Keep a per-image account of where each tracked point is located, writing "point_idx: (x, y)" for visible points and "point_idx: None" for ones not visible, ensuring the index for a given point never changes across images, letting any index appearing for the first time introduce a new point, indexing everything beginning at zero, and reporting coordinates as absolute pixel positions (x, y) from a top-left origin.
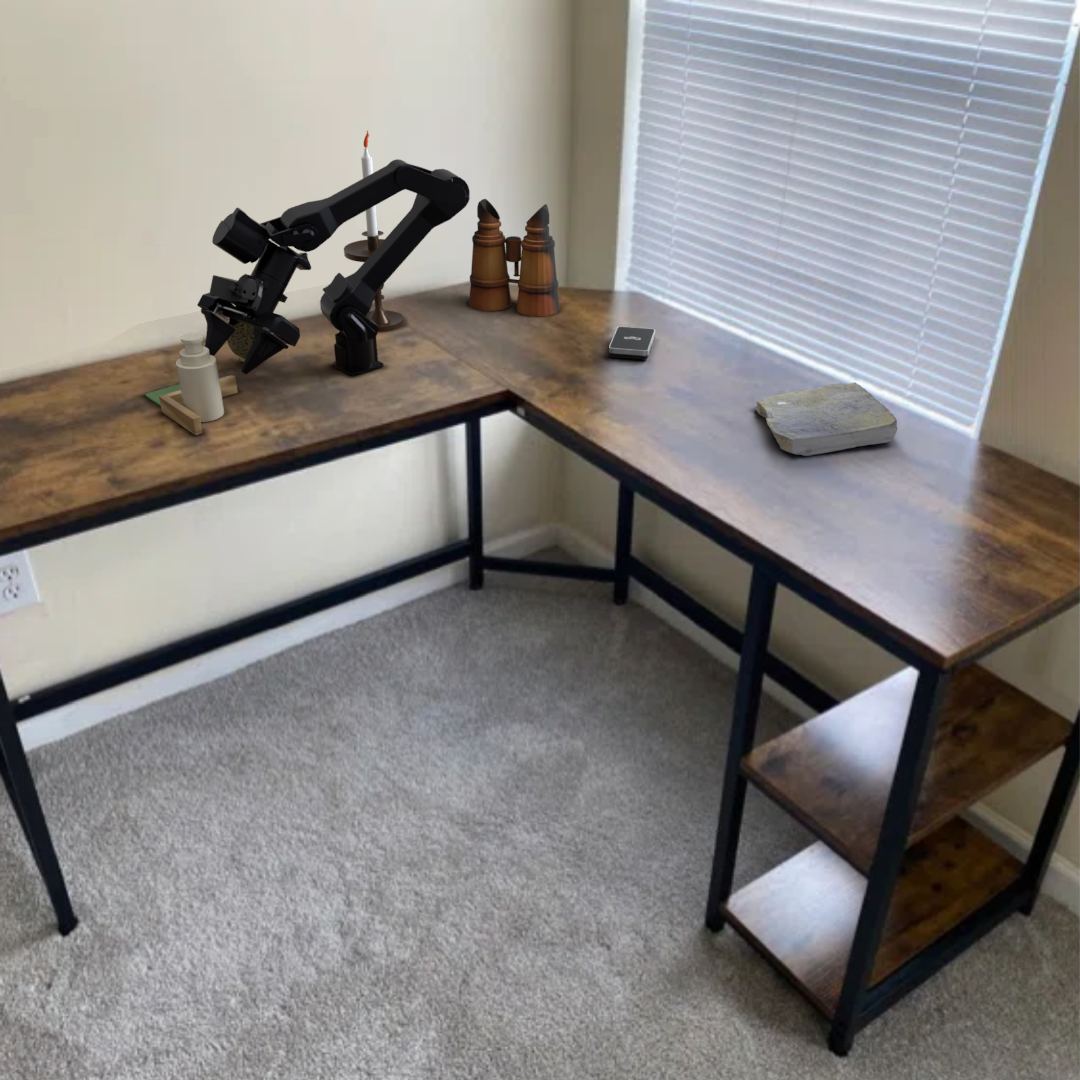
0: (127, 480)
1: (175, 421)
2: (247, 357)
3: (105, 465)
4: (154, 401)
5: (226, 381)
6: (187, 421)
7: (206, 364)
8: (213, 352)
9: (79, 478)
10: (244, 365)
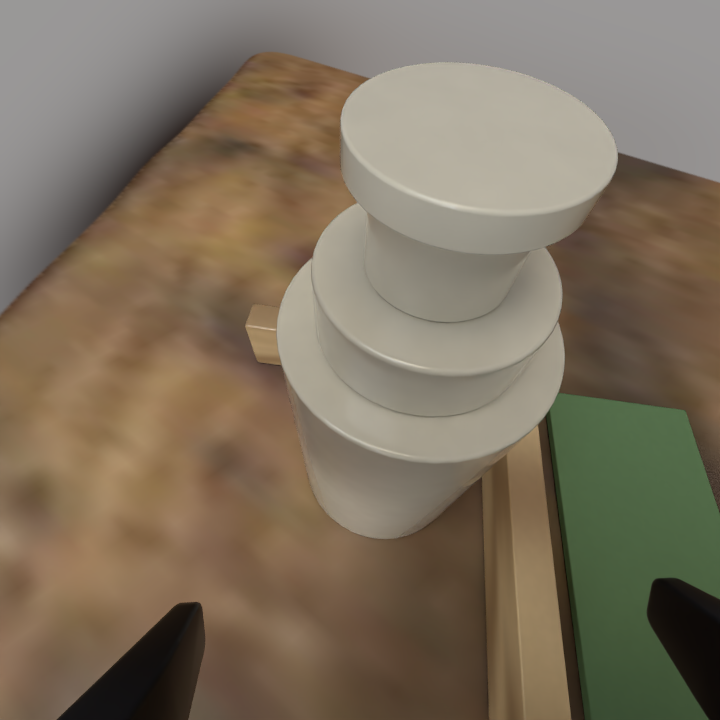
0: (221, 157)
1: None
2: (96, 717)
3: (318, 165)
4: (600, 399)
5: (516, 685)
6: None
7: (305, 327)
8: (717, 698)
9: (311, 128)
10: (150, 639)
